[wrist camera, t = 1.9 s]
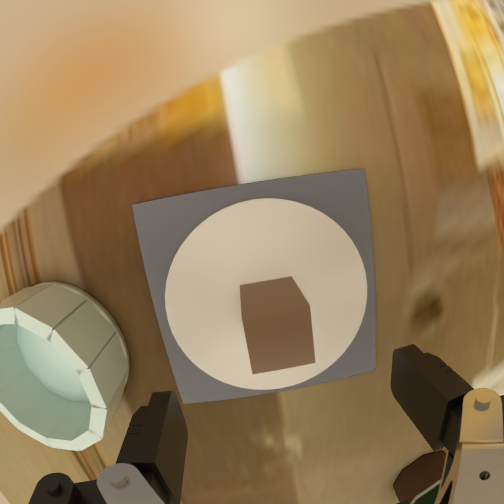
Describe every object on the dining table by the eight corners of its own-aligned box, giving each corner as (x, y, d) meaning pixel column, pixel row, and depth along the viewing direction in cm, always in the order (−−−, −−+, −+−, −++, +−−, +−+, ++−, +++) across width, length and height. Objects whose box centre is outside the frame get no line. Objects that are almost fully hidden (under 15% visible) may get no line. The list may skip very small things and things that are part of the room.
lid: (352, 185, 20) (396, 186, 14) (363, 361, 22) (396, 407, 17) (148, 217, 19) (115, 231, 14) (193, 392, 22) (183, 448, 16)
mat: (362, 168, 20) (364, 168, 20) (373, 367, 23) (375, 369, 23) (133, 204, 20) (131, 204, 19) (183, 400, 23) (183, 403, 22)
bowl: (106, 271, 20) (65, 300, 14) (148, 403, 23) (130, 454, 17) (-1, 289, 20) (-46, 314, 14) (43, 401, 22) (14, 440, 16)
